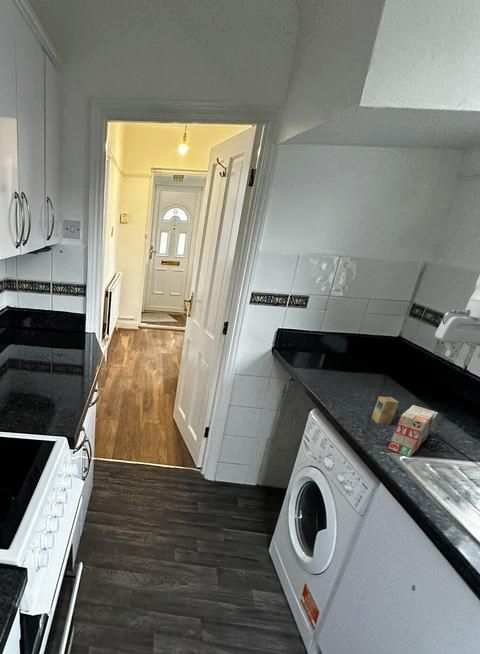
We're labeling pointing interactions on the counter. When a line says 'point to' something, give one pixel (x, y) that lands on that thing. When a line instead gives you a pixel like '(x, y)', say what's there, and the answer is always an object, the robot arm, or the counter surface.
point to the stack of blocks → (412, 430)
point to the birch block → (384, 410)
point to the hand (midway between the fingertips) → (465, 357)
